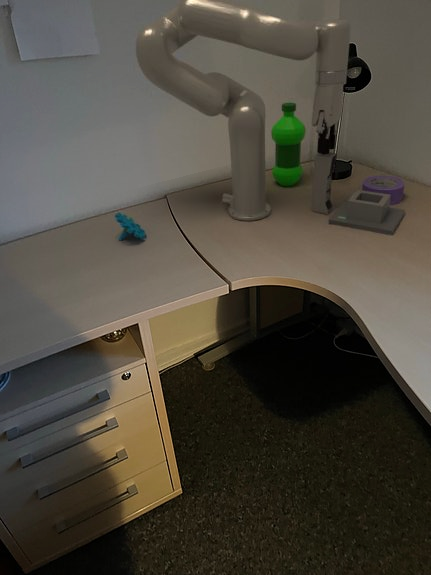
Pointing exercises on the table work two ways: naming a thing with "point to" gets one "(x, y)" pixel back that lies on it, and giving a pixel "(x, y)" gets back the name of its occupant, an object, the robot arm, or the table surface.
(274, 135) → the plastic bottle
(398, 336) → the table surface
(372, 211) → the charging dock
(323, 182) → the vintage mobile phone
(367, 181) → the tape roll
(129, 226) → the teal bumpy irregular piece
